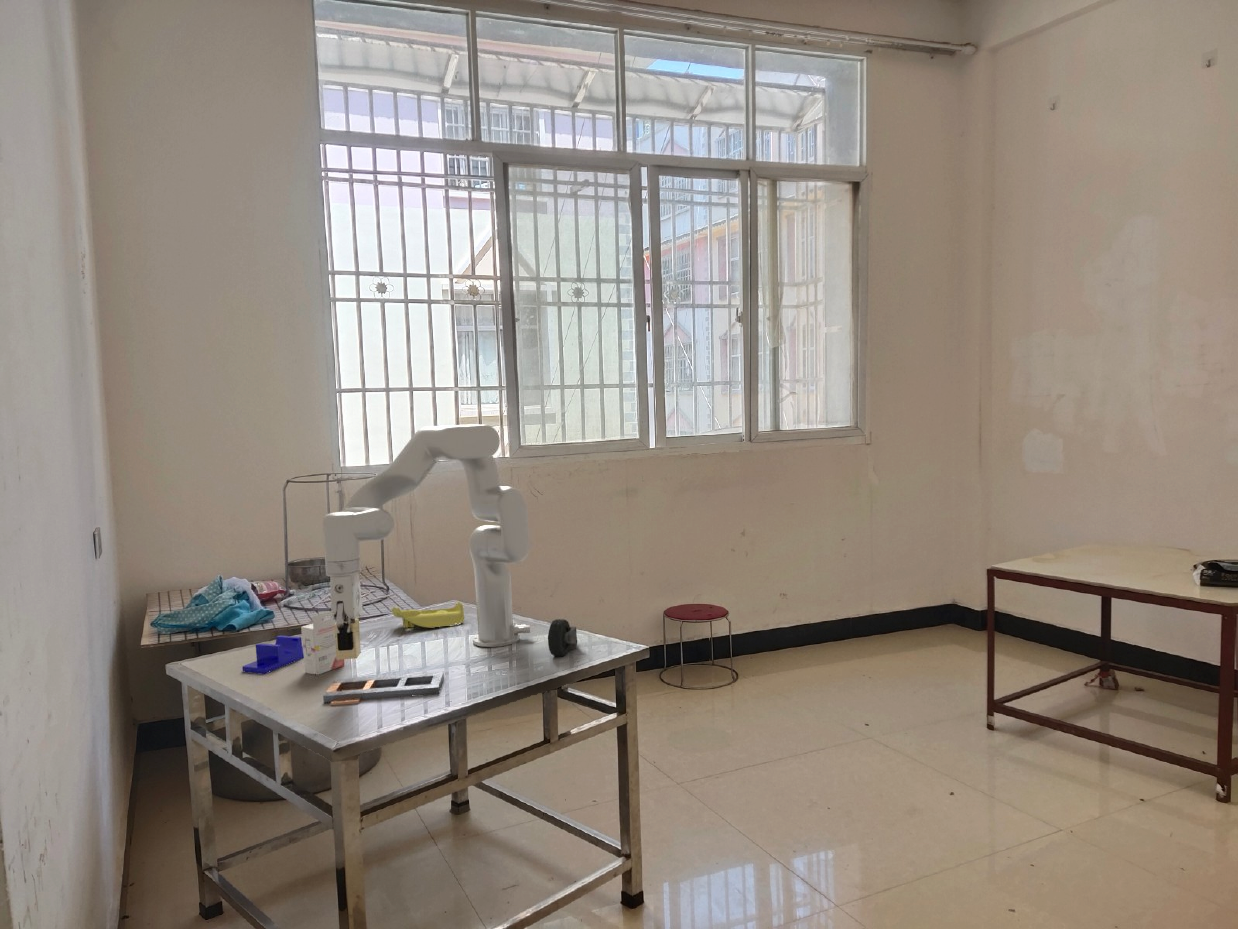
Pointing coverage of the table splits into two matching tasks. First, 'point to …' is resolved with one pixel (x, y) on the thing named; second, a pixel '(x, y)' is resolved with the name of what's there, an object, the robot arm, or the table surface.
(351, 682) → the rail frame
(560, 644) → the caster wheel
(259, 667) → the mounting bracket
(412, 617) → the plastic component
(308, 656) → the ink cartridge box
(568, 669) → the table surface
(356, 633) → the brass block
